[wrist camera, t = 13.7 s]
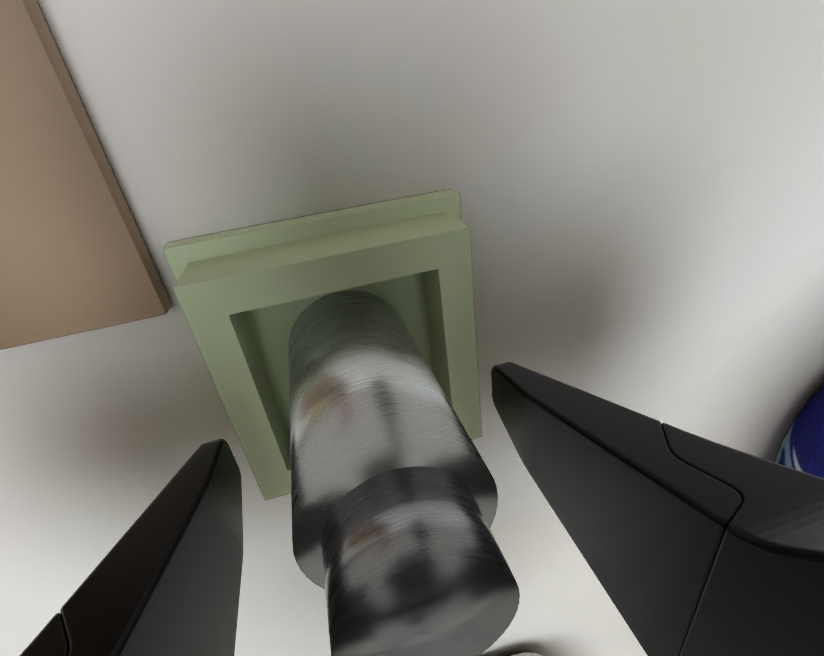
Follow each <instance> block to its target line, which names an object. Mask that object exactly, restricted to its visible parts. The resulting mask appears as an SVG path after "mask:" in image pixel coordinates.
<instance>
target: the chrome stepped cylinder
mask: <svg viewBox="0 0 824 656" xmlns="http://www.w3.org/2000/svg"><path fill="white" fill-rule="evenodd" d="M288 351H289V398H290V445H291V493H292V540H293V552H294V556H295V559H296V562H297V564H298V566H299V567H300V569H301V571H302V572H303V573H304V574H305V575H306V577H307V578H309V579H310V580H311V581H312V582H314V583H315V584H317V585H318V586H320V587H322V588H324V589H325V590H326V602H327V613H328V624H329V635H330V647H331V656H478V655H480V654H481V653H483V652H484V651H485V650H486V649H488V648H489V647H490V646H491V645H492V644H493V643H494V642H495V641H496V640H497V639H498V638H499V637H500V636H501V635H502V634H503V633H504V631H505V630H506V629H507V627H508V626H509V625H510V623H511V621H512V620H513V618H514V616H515V613H516V611H517V608H518V604H519V596H520V595H519V588H518V585H517V583H516V580H515V578H514V576H513V574H512V572H511V570H510V568H509V566H508V564H507V562H506V560H505V558H504V556H503V554H502V552H501V550H500V548H499V546H498V544H497V542H496V540H495V538H494V536H493V534H492V532H491V530H490V526H491V524H492V522H493V519H494V516H495V514H496V509H497V498H498V495H497V488H496V484H495V481H494V479H493V477H492V475H491V473H490V471H489V470H488V468H487V466H486V464H485V463H484V461H483V459H482V458H481V456H480V454H479V452H478V451H477V449H476V447H475V445H474V444H473V442H472V440H471V439H470V437H469V435H468V433H467V432H466V430H465V428H464V426H463V425H462V423H461V421H460V420H459V418H458V416H457V414H456V413H455V411H454V409H453V407H452V406H451V404H450V402H449V401H448V399H447V397H446V395H445V394H444V392H443V390H442V388H441V387H440V385H439V383H438V382H437V380H436V378H435V376H434V375H433V373H432V371H431V369H430V368H429V366H428V364H427V363H426V361H425V359H424V357H423V356H422V354H421V352H420V350H419V349H418V347H417V345H416V344H415V342H414V340H413V338H412V337H411V335H410V333H409V331H408V330H407V328H406V326H405V325H404V323H403V321H402V319H401V318H400V316H399V314H398V313H397V311H396V310H395V309H394V308H393V307H392V306H391V305H390V304H389V303H388V302H387V301H385V300H384V299H382V298H380V297H378V296H376V295H374V294H371V293H368V292H363V291H355V290H348V291H339V292H335V293H331V294H328V295H326V296H323V297H321V298H319V299H318V300H316V301H314V302H313V303H311V304H310V305H309V306H308V307H307V308H306V309H305V310H304V311H302V313H301V314H300V315H299V316H298V318H297V319H296V321H295V323H294V325H293V327H292V330H291V332H290V337H289V345H288Z"/></svg>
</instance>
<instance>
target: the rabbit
mask: <svg viewBox="0 0 824 656" xmlns="http://www.w3.org/2000/svg"><path fill="white" fill-rule="evenodd" d="M511 656H543V655H540V654H537V653H519V654H514V655H511Z"/></svg>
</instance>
